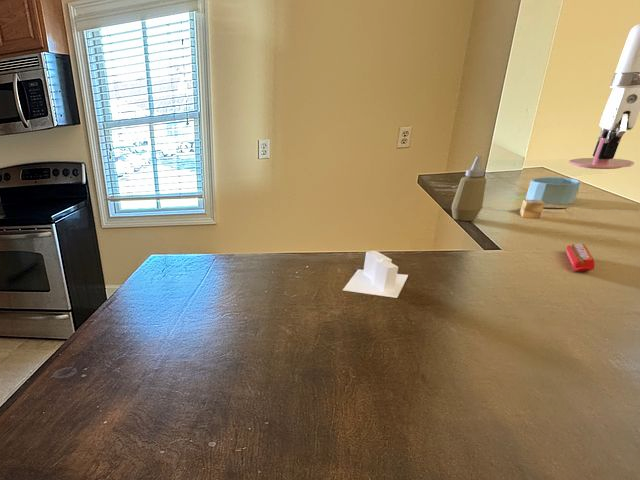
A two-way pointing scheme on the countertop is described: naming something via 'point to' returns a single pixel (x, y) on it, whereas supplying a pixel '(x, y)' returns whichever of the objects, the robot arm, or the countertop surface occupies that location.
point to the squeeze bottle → (470, 193)
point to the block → (531, 208)
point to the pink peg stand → (601, 160)
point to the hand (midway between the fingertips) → (602, 157)
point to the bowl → (553, 190)
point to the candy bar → (580, 257)
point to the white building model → (377, 277)
